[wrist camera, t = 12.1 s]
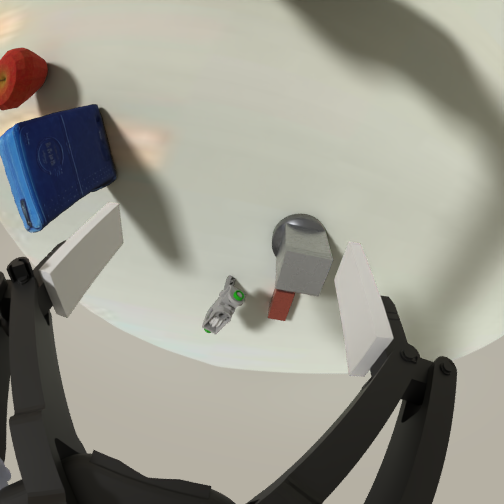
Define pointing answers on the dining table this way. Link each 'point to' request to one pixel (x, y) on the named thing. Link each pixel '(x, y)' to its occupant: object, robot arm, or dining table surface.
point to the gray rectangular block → (302, 260)
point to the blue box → (56, 162)
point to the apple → (20, 77)
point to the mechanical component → (223, 307)
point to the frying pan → (280, 297)
